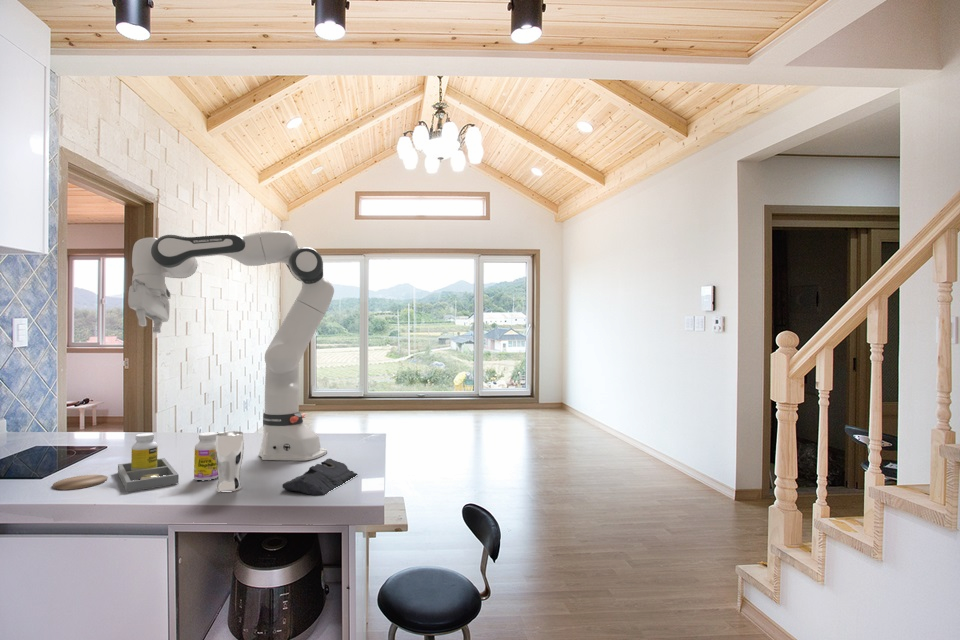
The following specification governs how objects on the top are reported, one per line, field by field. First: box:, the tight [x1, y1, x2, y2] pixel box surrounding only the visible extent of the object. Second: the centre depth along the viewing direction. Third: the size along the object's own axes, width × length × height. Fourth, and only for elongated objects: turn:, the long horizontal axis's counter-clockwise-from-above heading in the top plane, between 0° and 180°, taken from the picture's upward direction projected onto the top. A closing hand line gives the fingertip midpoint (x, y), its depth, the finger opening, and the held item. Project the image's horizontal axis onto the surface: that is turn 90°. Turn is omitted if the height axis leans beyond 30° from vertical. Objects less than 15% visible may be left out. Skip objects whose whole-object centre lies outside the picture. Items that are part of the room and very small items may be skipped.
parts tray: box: [117, 457, 180, 493], centre depth 151 cm, size 23×12×2 cm, turn 39°
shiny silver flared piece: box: [215, 430, 245, 492], centre depth 141 cm, size 7×7×15 cm
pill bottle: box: [130, 432, 159, 471], centre depth 155 cm, size 6×6×12 cm
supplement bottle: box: [193, 431, 218, 481], centre depth 151 cm, size 7×7×13 cm
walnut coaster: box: [52, 474, 108, 491], centre depth 145 cm, size 12×12×1 cm
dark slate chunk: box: [281, 458, 358, 496], centre depth 148 cm, size 15×22×5 cm
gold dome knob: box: [140, 474, 159, 480], centre depth 146 cm, size 4×4×2 cm
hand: (150, 329), depth 163 cm, fingers open, 8 cm apart
